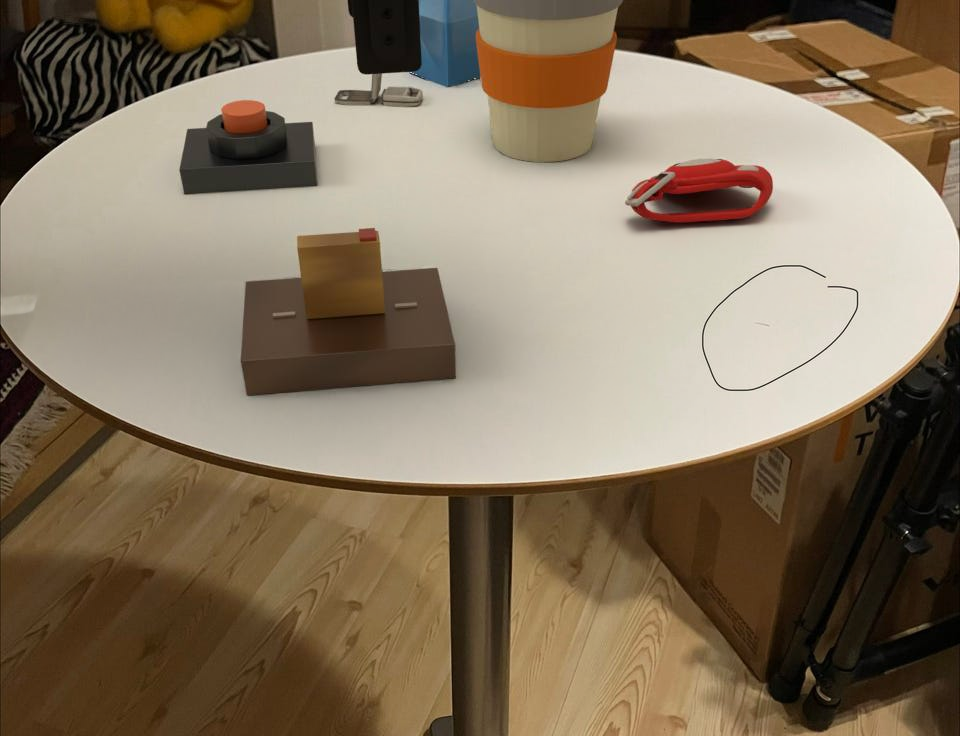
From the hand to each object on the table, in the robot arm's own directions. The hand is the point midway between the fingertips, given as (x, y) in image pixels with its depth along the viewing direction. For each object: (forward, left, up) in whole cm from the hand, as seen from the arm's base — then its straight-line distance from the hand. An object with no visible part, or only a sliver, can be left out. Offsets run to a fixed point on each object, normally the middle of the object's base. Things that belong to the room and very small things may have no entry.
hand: (383, 41), depth 56 cm
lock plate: (-3, +1, -19) cm, 19 cm away
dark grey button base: (-10, +31, -19) cm, 38 cm away
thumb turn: (-3, +1, -17) cm, 17 cm away
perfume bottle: (+10, +53, -19) cm, 57 cm away
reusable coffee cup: (+16, +33, -19) cm, 41 cm away
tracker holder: (+25, +18, -19) cm, 36 cm away
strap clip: (+2, +46, -19) cm, 50 cm away
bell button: (-10, +31, -15) cm, 36 cm away
